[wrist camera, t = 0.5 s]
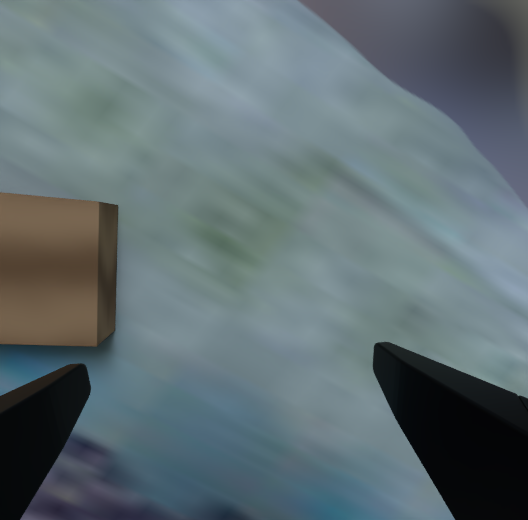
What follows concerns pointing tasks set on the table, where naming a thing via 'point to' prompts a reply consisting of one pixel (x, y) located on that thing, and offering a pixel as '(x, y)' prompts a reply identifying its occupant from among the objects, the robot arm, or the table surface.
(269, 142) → the table surface
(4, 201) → the walnut plinth
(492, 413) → the robot arm
